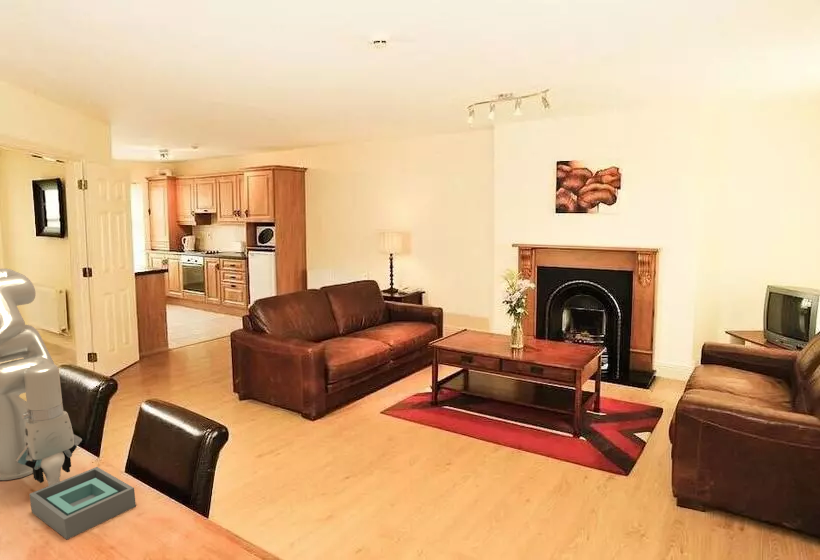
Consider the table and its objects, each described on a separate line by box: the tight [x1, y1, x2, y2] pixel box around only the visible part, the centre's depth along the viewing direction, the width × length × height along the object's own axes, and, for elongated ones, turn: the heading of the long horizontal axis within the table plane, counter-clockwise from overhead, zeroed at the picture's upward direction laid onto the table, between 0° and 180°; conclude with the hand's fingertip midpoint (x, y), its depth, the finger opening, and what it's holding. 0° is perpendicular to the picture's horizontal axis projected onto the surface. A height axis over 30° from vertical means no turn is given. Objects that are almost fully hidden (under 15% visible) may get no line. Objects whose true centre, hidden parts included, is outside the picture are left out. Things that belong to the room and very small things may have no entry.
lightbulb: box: [40, 452, 65, 486], centre depth 144 cm, size 6×6×11 cm
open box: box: [28, 466, 137, 540], centre depth 135 cm, size 19×16×5 cm
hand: (53, 475), depth 144 cm, fingers closed on lightbulb, 5 cm apart
